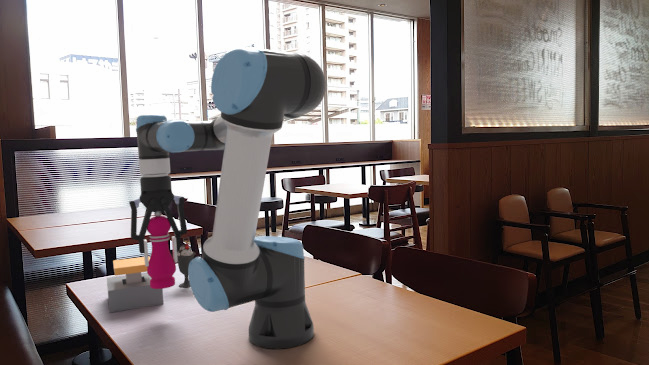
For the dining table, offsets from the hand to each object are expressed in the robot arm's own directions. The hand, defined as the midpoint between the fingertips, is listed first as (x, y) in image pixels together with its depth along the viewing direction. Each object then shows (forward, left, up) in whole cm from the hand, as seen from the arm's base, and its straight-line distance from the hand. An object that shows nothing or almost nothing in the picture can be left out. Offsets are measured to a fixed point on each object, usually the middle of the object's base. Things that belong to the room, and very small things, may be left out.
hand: (161, 263), depth 132 cm
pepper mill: (0, 0, -6) cm, 6 cm away
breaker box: (+16, +6, -14) cm, 22 cm away
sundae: (+24, -10, -14) cm, 30 cm away
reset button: (+16, +6, -10) cm, 20 cm away
